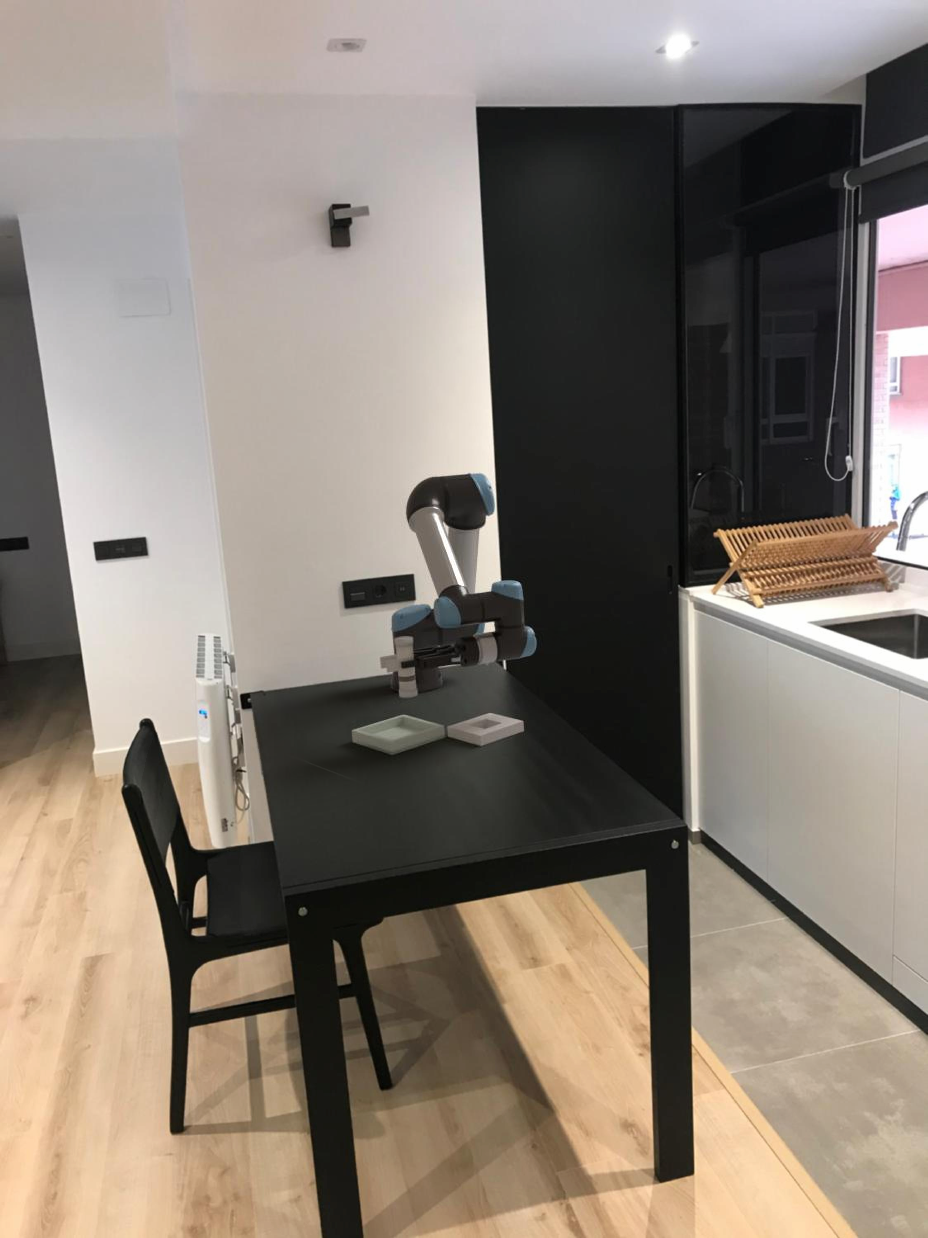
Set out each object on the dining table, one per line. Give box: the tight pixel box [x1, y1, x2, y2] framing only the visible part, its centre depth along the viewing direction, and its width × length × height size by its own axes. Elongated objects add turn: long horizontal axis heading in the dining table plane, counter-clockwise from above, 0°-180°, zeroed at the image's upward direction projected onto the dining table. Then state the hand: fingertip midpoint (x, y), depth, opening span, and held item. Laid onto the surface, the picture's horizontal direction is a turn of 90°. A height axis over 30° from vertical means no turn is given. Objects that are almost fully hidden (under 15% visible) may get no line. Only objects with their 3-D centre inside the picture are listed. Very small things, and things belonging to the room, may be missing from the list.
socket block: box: [446, 712, 525, 747], centre depth 243 cm, size 14×12×2 cm
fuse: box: [394, 636, 419, 699], centre depth 239 cm, size 4×4×14 cm
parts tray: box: [351, 714, 446, 756], centre depth 244 cm, size 16×16×3 cm
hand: (384, 664), depth 237 cm, fingers closed on fuse, 4 cm apart
